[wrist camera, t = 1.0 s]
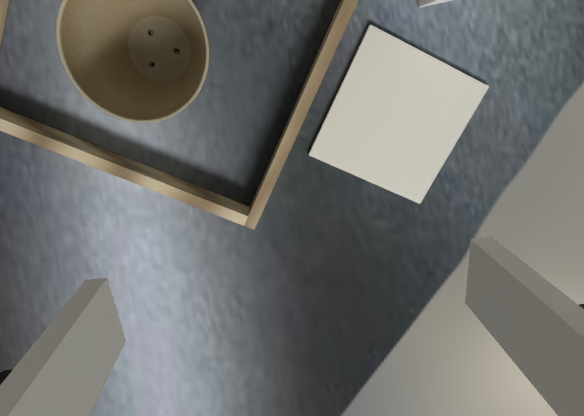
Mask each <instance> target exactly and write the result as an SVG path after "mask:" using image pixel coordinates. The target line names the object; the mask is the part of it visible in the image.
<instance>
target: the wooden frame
mask: <svg viewBox="0 0 584 416" xmlns="http://www.w3.org/2000/svg"><path fill="white" fill-rule="evenodd" d="M357 2H358V0H341V1H340V3H339V5H338V8H337V10H336V12H335V15H334V17H333V19H332V21H331V24H330V26H329V28H328V30H327V33H326V35H325V37H324V40H323V42H322V44H321V46H320V49H319V51H318V53H317V55H316V58H315V60H314V62H313V65H312V67H311V69H310V71H309V74H308V76H307V78H306V80H305V83H304V85H303V87H302V90H301V92H300V94H299V96H298V99H297V101H296V103H295V105H294V108H293V110H292V112H291V114H290V117H289V119H288V121H287V124H286V126H285V128H284V130H283V133H282V135H281V137H280V139H279V142H278V144H277V146H276V149H275V151H274V153H273V155H272V158H271V160H270V162H269V164H268V167H267V169H266V171H265V174H264V176H263V178H262V180H261V183H260V185H259V187H258V189H257V192H256V194H255V196H254V199H253V201H252V203H251V205H250V207H249V206H246V205H244V204H241V203H239V202H236V201H234V200H231V199H229V198H226V197H224V196H221V195H219V194H216V193H214V192H211V191H209V190H206V189H204V188H201V187H199V186H196V185H194V184H191V183H189V182H186V181H184V180H181V179H179V178H176V177H174V176H171V175H169V174H166V173H164V172H161V171H159V170H156V169H154V168H151V167H149V166H146V165H144V164H141V163H139V162H136V161H134V160H131V159H129V158H126V157H124V156H121V155H119V154H116V153H114V152H111V151H109V150H106V149H104V148H101V147H99V146H96V145H94V144H91V143H89V142H86V141H84V140H81V139H79V138H76V137H74V136H71V135H69V134H66V133H64V132H61V131H59V130H56V129H54V128H51V127H49V126H46V125H44V124H41V123H39V122H36V121H34V120H31V119H29V118H26V117H24V116H21V115H19V114H16V113H14V112H11V111H9V110H7V109H4V108H2V107H0V131H2V132H5V133H8V134H10V135H13V136H15V137H18V138H20V139H23V140H25V141H28V142H31V143H33V144H36V145H38V146H41V147H43V148H46V149H49V150H51V151H54V152H56V153H59V154H61V155H64V156H66V157H69V158H72V159H74V160H77V161H79V162H82V163H84V164H87V165H90V166H92V167H95V168H97V169H100V170H102V171H105V172H107V173H110V174H113V175H115V176H118V177H120V178H123V179H125V180H128V181H130V182H133V183H136V184H138V185H141V186H143V187H146V188H148V189H151V190H154V191H156V192H159V193H161V194H164V195H166V196H169V197H171V198H174V199H177V200H179V201H182V202H184V203H187V204H189V205H192V206H195V207H197V208H200V209H202V210H205V211H207V212H210V213H212V214H215V215H218V216H220V217H223V218H225V219H228V220H230V221H233V222H236V223H238V224H241V225H243V226H246V227H248V228H251V229H253V230H254V229H255V227H256V225H257V222H258V220H259V218H260V216H261V214H262V211H263V209H264V207H265V205H266V203H267V200H268V198H269V196H270V194H271V192H272V189H273V187H274V185H275V183H276V181H277V178H278V176H279V174H280V172H281V170H282V167H283V165H284V163H285V161H286V159H287V156H288V154H289V152H290V150H291V148H292V145H293V143H294V141H295V139H296V136H297V134H298V132H299V130H300V128H301V125H302V123H303V121H304V119H305V117H306V114H307V112H308V110H309V108H310V106H311V103H312V101H313V99H314V97H315V95H316V92H317V90H318V88H319V86H320V84H321V81H322V79H323V77H324V75H325V73H326V70H327V68H328V66H329V64H330V62H331V59H332V57H333V55H334V53H335V50H336V48H337V46H338V44H339V42H340V39H341V37H342V35H343V33H344V31H345V28H346V26H347V24H348V22H349V20H350V17H351V15H352V13H353V11H354V9H355V6H356V4H357ZM8 5H9V0H0V47H1V41H2V36H3V31H4V26H5V21H6V15H7V10H8Z"/></svg>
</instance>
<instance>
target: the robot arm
mask: <svg viewBox="0 0 584 416" xmlns="http://www.w3.org/2000/svg"><path fill="white" fill-rule="evenodd" d="M465 303H466V304H467V305H468V307H469V308H470V309H471V310H472V311H473V313H474V314H475V315H476V316H477V318H478V319H479V320H480V321H481V323H482V324H483V325H484V326H485V327H486V329H487V330H488V331H489V332H490V334H491V335H492V336H493V337H494V338H495V340H496V341H497V342H498V343H499V344H500V346H501V347H502V348H503V349H504V351H505V352H506V353H507V354H508V355H509V357H510V358H511V359H512V360H513V361H514V363H515V364H516V365H517V366H518V368H519V369H520V370H521V371H522V372H523V374H524V375H525V376H526V377H527V378H528V380H529V381H530V382H531V383H532V385H533V386H534V387H535V388H536V389H537V391H538V392H539V393H540V394H541V395H542V397H543V398H544V399H545V400H546V401H547V403H548V404H549V405H550V406H551V408H553V410H554V411H555V413H556V414H557V415H558V416H584V304H580V305H578V304H576V303H575V302H574V301H573V300H571V299H570V298H569V297H567V296H566V295H565V294H564V293H562V292H561V291H560V290H559V289H557V288H556V287H554V286H553V285H552V284H551V283H550V282H548V281H547V280H546V279H545V278H543V277H542V276H541V275H539V274H538V273H537V272H536V271H534V270H533V269H532V268H530V267H529V266H528V265H527V264H525V263H524V262H523V261H522V260H520V259H519V258H517V256H515V255H514V254H512V253H511V252H510V251H509V250H507V249H506V248H505V247H504V246H503V245H501V244H500V243H499V242H497V241H496V240H495V239H494V238H492V237H486V238H476V239H471V244H470V255H469V267H468V278H467V289H466V301H465ZM124 343H125V337H124V334H123V330H122V327H121V323H120V320H119V317H118V313H117V310H116V306H115V303H114V300H113V296H112V293H111V289H110V286H109V282H108V279H107V278H101V279H91V280H85V281H84V282H83V284H82V285H81V286H80V287H79V289H78V290H77V291H76V292H75V293H74V295H73V296H72V297H71V298H70V300H69V301H68V302H67V303H66V305H65V306H64V307H63V308H62V310H61V311H60V312H59V313H58V315H57V316H56V317H55V318H54V319H53V321H52V322H51V323H50V324H49V326H48V327H47V328H46V329H45V331H44V332H43V333H42V334H41V336H40V337H39V338H38V339H37V341H36V342H35V343H34V344H33V345H32V347H31V348H30V349H29V350H28V352H27V353H26V354H25V355H24V357H23V358H22V359H21V360H20V362H19V363H18V364H17V365H16V367H15V368H14V369H13V370H6V371H2V372H1V373H0V416H89V414H90V412H91V410H92V408H93V406H94V404H95V402H96V400H97V398H98V396H99V394H100V392H101V390H102V388H103V386H104V384H105V382H106V380H107V378H108V376H109V374H110V371H111V369H112V367H113V365H114V363H115V361H116V359H117V357H118V355H119V353H120V351H121V349H122V347H123V345H124Z"/></svg>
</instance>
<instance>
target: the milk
mask: <svg viewBox="0 0 584 416" xmlns="http://www.w3.org/2000/svg"><path fill="white" fill-rule="evenodd" d="M447 1H452V0H418V6H419V7H424V6H429V5H433V4H438V3H443V2H447Z"/></svg>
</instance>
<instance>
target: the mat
mask: <svg viewBox="0 0 584 416" xmlns="http://www.w3.org/2000/svg"><path fill="white" fill-rule="evenodd" d="M488 88H489V86H487V85H485V84H483V83H482V82H480V81H478V80H476V79H474V78H472V77H470V76H468V75H466V74H464V73H462V72H460V71H459V70H457V69H455V68H453V67H451V66H449V65H447V64H445V63H443V62H441V61H439V60H437V59H436V58H434V57H432V56H430V55H428V54H426V53H424V52H422V51H420V50H418V49H416V48H414V47H413V46H411V45H409V44H407V43H405V42H403V41H401V40H399V39H397V38H395V37H393V36H391V35H390V34H388V33H386V32H384V31H382V30H380V29H378V28H376V27H374V26H372V25H369V26H368V28H367V31H366V33H365V35H364V37H363V39H362V41H361V43H360V45H359V48H358V50H357V52H356V54H355V56H354V58H353V60H352V62H351V65H350V67H349V69H348V71H347V73H346V75H345V77H344V79H343V82H342V84H341V86H340V88H339V90H338V92H337V94H336V96H335V99H334V101H333V103H332V105H331V107H330V109H329V111H328V114H327V116H326V118H325V120H324V122H323V124H322V126H321V128H320V131H319V133H318V135H317V137H316V139H315V141H314V143H313V145H312V148H311V150H310V152H309V155H310V156H312V157H314V158H316V159H319V160H321V161H323V162H326V163H328V164H330V165H332V166H335V167H337V168H339V169H342V170H344V171H346V172H348V173H351V174H353V175H355V176H357V177H360V178H362V179H364V180H367V181H369V182H371V183H373V184H376V185H378V186H380V187H382V188H385V189H387V190H389V191H392V192H394V193H396V194H398V195H401V196H403V197H405V198H408V199H410V200H412V201H414V202H417V203H419V204H420V203H421V201H422V200H423V198H424V196H425V195H426V193H427V191H428V189H429V188H430V186H431V184H432V183H433V181H434V179H435V178H436V176H437V174H438V172H439V171H440V169H441V167H442V166H443V164H444V162H445V161H446V159H447V157H448V156H449V154H450V152H451V150H452V149H453V147H454V145H455V144H456V142H457V140H458V139H459V137H460V135H461V134H462V132H463V130H464V128H465V127H466V125H467V123H468V122H469V120H470V118H471V117H472V115H473V113H474V112H475V110H476V108H477V106H478V105H479V103H480V101H481V100H482V98H483V96H484V95H485V93H486V91H487V89H488Z"/></svg>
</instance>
